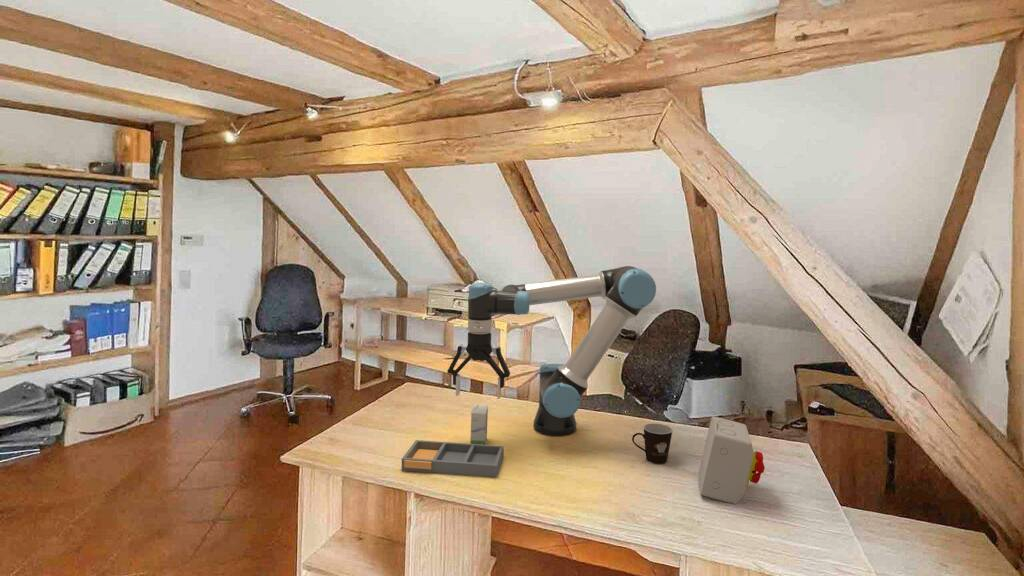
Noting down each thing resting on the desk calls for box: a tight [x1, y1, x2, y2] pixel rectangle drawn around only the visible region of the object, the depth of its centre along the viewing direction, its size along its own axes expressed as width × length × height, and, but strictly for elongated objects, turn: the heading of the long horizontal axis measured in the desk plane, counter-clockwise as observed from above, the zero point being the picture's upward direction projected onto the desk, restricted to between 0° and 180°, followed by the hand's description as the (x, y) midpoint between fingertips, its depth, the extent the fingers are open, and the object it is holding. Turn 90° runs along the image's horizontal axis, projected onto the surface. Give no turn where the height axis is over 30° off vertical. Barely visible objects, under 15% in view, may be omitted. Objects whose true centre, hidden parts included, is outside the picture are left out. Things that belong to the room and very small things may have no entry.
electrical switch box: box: [698, 415, 766, 505], centre depth 151 cm, size 15×15×20 cm
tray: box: [401, 439, 505, 478], centre depth 167 cm, size 28×15×4 cm, turn 83°
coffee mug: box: [631, 422, 674, 465], centre depth 172 cm, size 12×9×10 cm
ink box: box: [469, 404, 489, 445], centre depth 181 cm, size 9×5×12 cm, turn 179°
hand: (478, 396), depth 180 cm, fingers open, 13 cm apart
